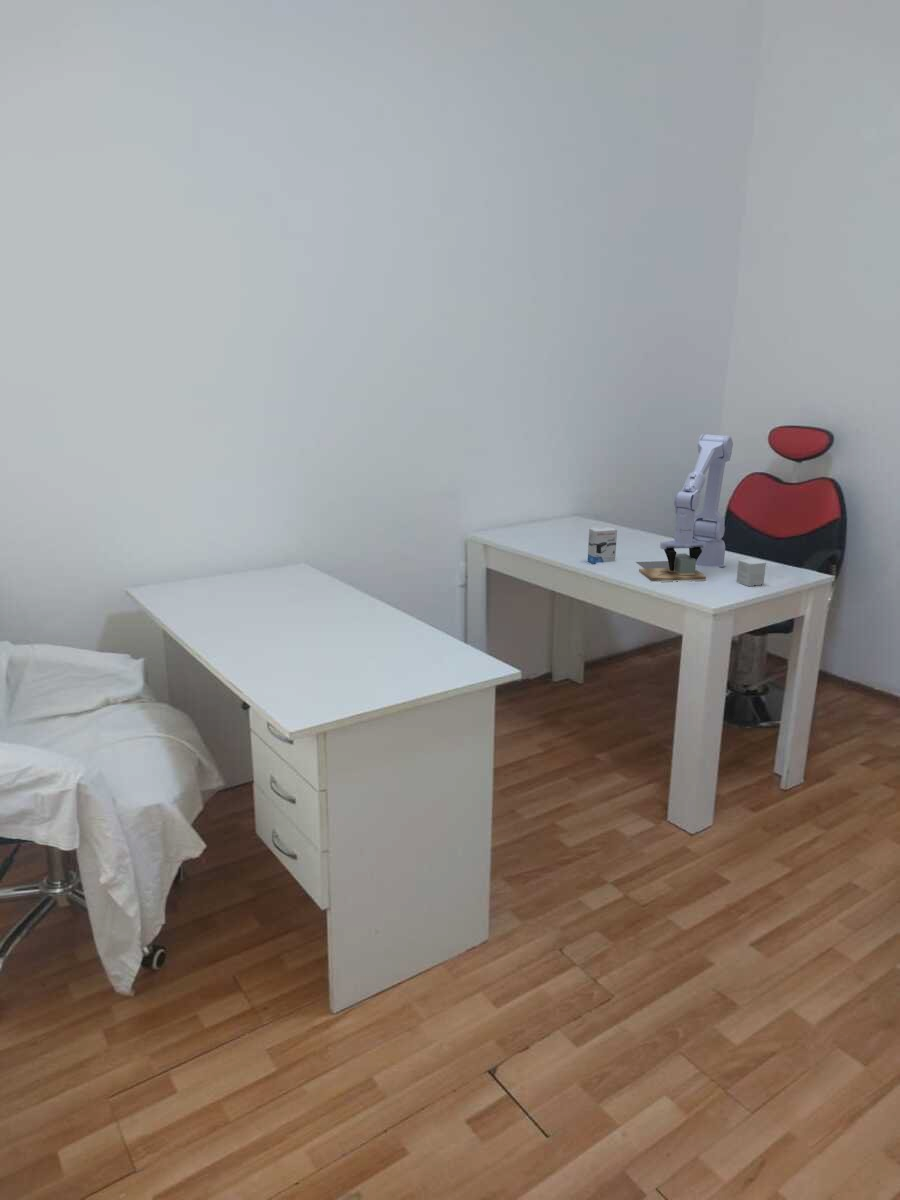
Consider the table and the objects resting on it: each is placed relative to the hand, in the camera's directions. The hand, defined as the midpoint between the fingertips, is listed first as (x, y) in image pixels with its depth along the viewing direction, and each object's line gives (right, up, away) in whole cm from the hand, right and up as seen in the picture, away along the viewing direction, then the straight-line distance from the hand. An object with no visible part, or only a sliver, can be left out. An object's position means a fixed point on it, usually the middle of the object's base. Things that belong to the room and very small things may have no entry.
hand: (681, 569), depth 285 cm
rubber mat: (-5, +1, +13) cm, 14 cm away
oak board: (-3, -2, 0) cm, 4 cm away
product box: (+20, -5, -7) cm, 22 cm away
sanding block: (+1, -1, +1) cm, 1 cm away
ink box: (-23, +3, +19) cm, 30 cm away
